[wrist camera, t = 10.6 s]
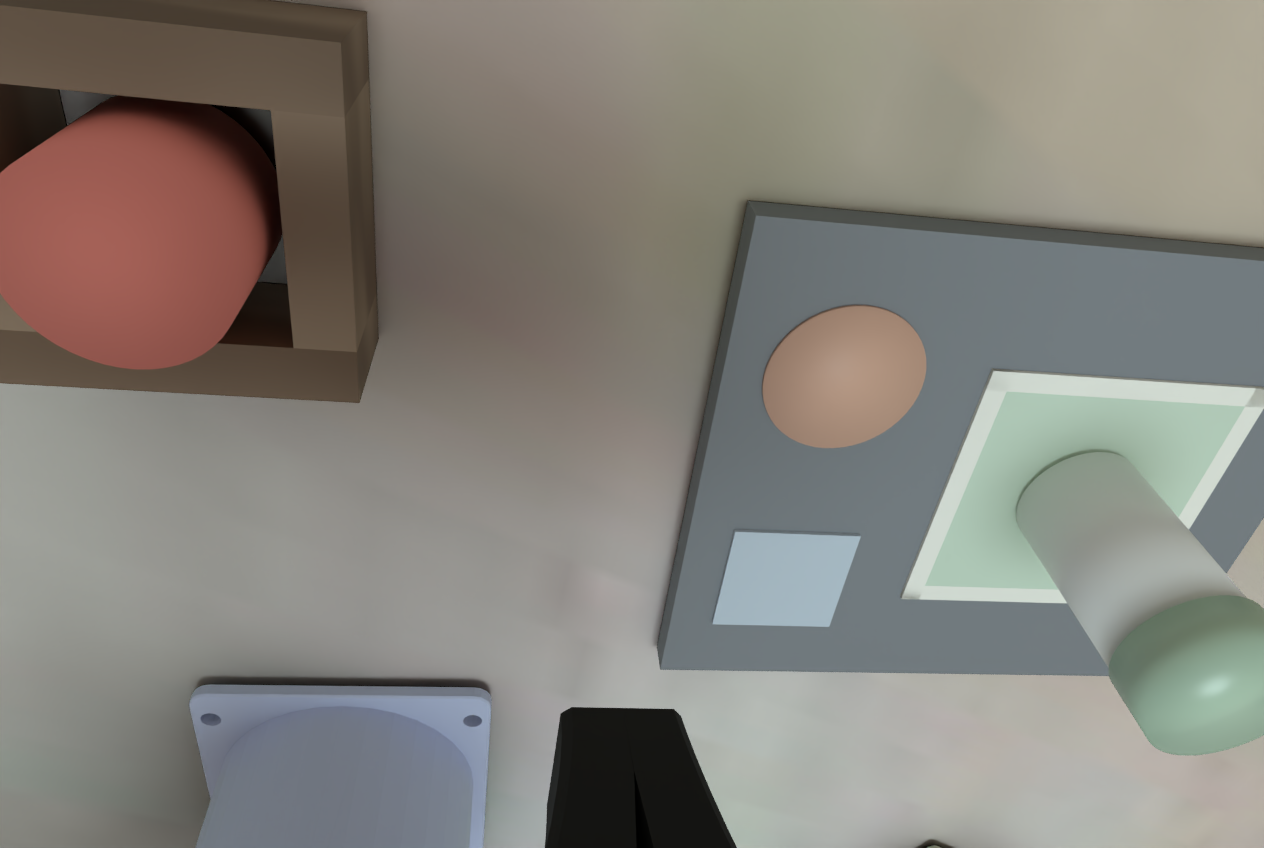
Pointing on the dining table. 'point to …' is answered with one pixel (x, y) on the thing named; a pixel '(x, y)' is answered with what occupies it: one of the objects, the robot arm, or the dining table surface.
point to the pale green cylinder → (1150, 603)
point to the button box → (305, 163)
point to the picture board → (948, 434)
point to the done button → (138, 231)
